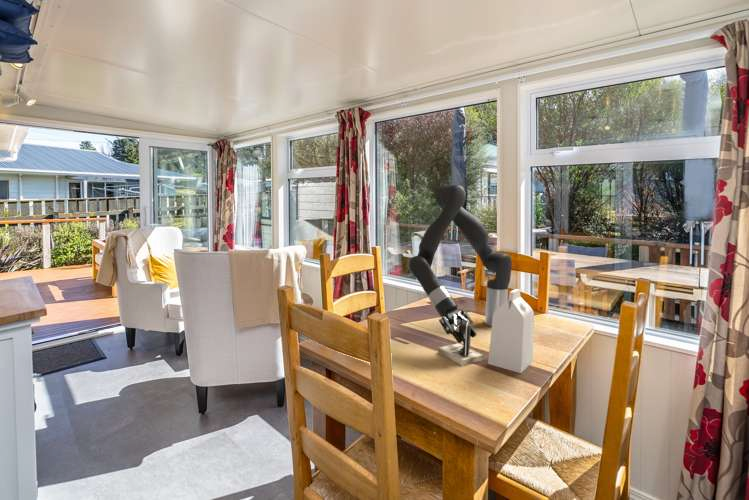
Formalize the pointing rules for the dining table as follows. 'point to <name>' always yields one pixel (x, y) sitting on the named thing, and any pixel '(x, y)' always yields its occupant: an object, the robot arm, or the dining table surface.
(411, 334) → the dining table surface
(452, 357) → the board
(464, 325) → the dark upright piece
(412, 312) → the dining table surface
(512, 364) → the milk
